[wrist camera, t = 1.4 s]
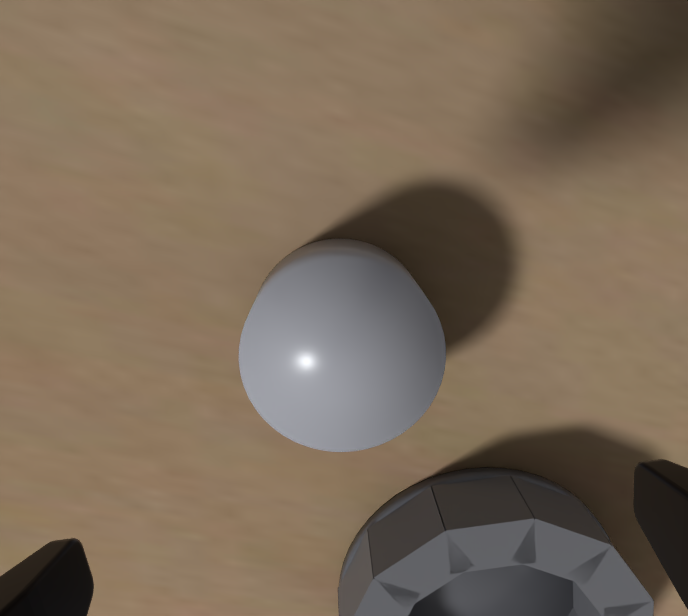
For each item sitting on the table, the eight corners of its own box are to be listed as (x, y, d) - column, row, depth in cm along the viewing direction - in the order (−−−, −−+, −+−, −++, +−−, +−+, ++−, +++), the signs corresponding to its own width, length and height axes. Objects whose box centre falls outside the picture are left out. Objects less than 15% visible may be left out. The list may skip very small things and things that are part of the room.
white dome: (416, 226, 19) (436, 243, 15) (431, 389, 20) (453, 437, 17) (238, 250, 19) (220, 273, 15) (269, 411, 20) (258, 464, 17)
